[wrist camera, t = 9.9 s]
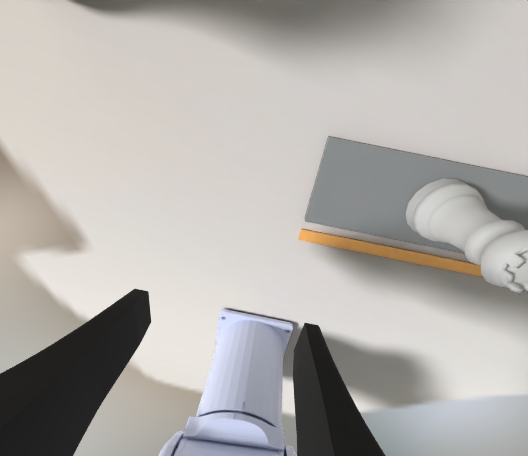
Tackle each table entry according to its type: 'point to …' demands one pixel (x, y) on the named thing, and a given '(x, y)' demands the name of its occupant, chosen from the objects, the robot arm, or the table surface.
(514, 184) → the mat
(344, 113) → the table surface
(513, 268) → the rook chess piece
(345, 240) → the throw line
